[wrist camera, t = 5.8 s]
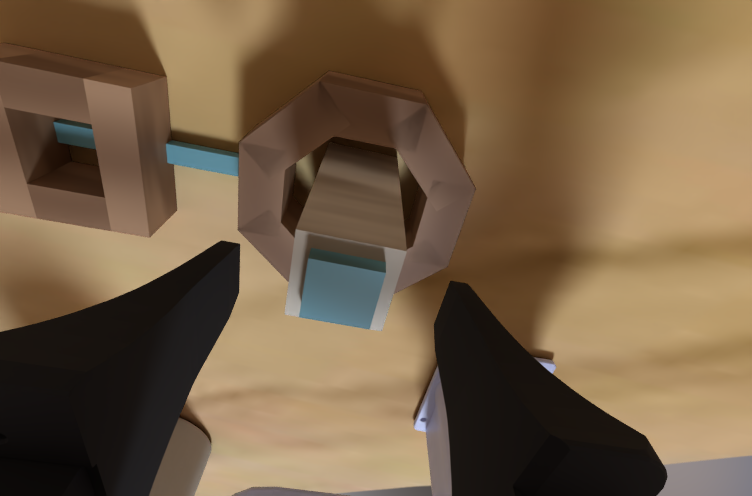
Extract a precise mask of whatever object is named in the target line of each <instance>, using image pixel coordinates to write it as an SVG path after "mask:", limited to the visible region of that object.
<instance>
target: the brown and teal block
mask: <svg viewBox="0 0 752 496" xmlns="http://www.w3.org/2000/svg"><path fill="white" fill-rule="evenodd" d="M406 253H407V247H406V237H405V227H404V218H403V208H402V199H401V189H400V180H399V170H398V160H397V157H394V156H389V155H385V154H380V153H376V152H371V151H367V150H362V149H358V148H353V147H349V146H344V145H340V144H335V143H331V142H329V145H328V147H327V150H326V153H325V155H324V158H323V160H322V163H321V165H320V168H319V171H318V173H317V176H316V178H315V181H314V183H313V186H312V189H311V191H310V194H309V196H308V199H307V202H306V204H305V207H304V209H303V212H302V214H301V217H300V220H299V222H298V225H297V227H296V231H295V239H294V246H293V254H292V262H291V269H290V277H289V284H288V292H287V300H286V307H285V315H291V316H297V317H301V318H307V319H313V320H318V321H324V322H330V323H335V324H341V325H347V326H353V327H358V328H364V329H372V330H377V331H382V329H383V326H384V323H385V319H386V316H387V313H388V310H389V307H390V304H391V300H392V297H393V294H394V291H395V288H396V285H397V281H398V278H399V275H400V272H401V269H402V266H403V262H404V259H405V256H406Z"/></svg>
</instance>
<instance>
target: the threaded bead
mask: <svg viewBox="0 0 752 496" xmlns="http://www.w3.org/2000/svg"><path fill="white" fill-rule="evenodd" d="M60 119H67V120H72V121H77V122H82V123H87V124H92V130H93V135H94V140H95V146H96V151H97V157H98V162H99V166H94V165H88V164H83V163H77V162H72V161H71V156H70V152H69V147H68V144H64V143H59V142H58V140H57V135H56V131H55V127H54V123H53V122H55V121H57V120H60ZM169 141H171V127H170V114H169V101H168V89H167V77H165V76H160V75H156V74H151V73H146V72H141V71H137V70H132V69H127V68H122V67H117V66H113V65H108V64H103V63H98V62H94V61H89V60H84V59H79V58H75V57H70V56H65V55H60V54H55V53H51V52H46V51H41V50H36V49H32V48H27V47H22V46H17V45H12V44H8V43H0V212H2V213H8V214H14V215H20V216H26V217H32V218H37V219H43V220H49V221H55V222H61V223H67V224H73V225H78V226H84V227H90V228H96V229H102V230H108V231H114V232H119V233H125V234H131V235H137V236H143V237H149V238H150V237H151V236H152V235H153V234H154V233H155V232H156V231H157V230H158V229H159V228H160V227H161V226H162V225H163V224H164V223H165V222H166V221H167V220H168V219H169V218H170V217H171V216H172V215H173V214H174V213H175V212H176V211H177V203H176V190H175V178H174V165H173V164H170V163H168V162H167V151H166V143H168V142H169Z"/></svg>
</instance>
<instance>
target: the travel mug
mask: <svg viewBox="0 0 752 496" xmlns="http://www.w3.org/2000/svg"><path fill="white" fill-rule="evenodd" d="M210 453H211V443H210V441H209V439H208V437H207V436H206V435H205V434H204V433H203V432H202V431H201V430H200V429H199V428H197V427H196V426H194V425H193V424H191V423H190V422H188V421H186V420H184V419H182V418H179V419H178V421H177V424H176V426H175V429H174V431H173V433H172V436H171V438H170V441H169V443H168V446H167V449H166V451H165V454H164V457H163V459H162V462H161V464H160V467H159V470H158V472H157V475H156V478H155V480H154V483H153V486H152V489H151V491H150V494H149V496H194V495H195V492H196V490H197V487H198V484H199V482H200V479H201V477H202V474H203V471H204V469H205V466H206V464H207V461H208V458H209V456H210Z"/></svg>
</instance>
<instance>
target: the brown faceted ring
mask: <svg viewBox="0 0 752 496" xmlns="http://www.w3.org/2000/svg"><path fill="white" fill-rule="evenodd" d="M333 136H336V137H341V138H346V139H351V140H356V141H361V142H366V143H371V144H375V145H380V146H385V147H390V148H395V149H397V151H398V152H399V154H400V155H401V157H402V158H403V160H404V162H405V163H406V165H407V166H408V168H409V169H410V171H411V172H412V174H413V176H414V177H415V179H416V180H417V182H418V183H419V186H418V189H417V193H416V197H415V200H414V204H413V207H412V211H411V214H410V218H409V219H407V220H405V221H404V227H405V237H406V247H407V253H406V256H405V259H404V262H403V266H402V269H401V272H400V275H399V278H398V281H397V285H396V288H395V291H394V294H395V293H397V292H399V291H401V290H403V289H405V288H406V287H408V286H410V285H412V284H414V283H416V282H418V281H420V280H422V279H424V278H426V277H428V276H430V275H432V274H434V273H436V272H438V271H440V270H442V269H444V268H446V267H448V264H449V261H450V258H451V256H452V253H453V250H454V247H455V245H456V242H457V239H458V236H459V234H460V231H461V228H462V225H463V223H464V220H465V217H466V214H467V212H468V209H469V206H470V203H471V201H472V198H473V195H474V192H475V190H476V188H475V186H474V184H473V182H472V180H471V178H470V176H469V174H468V172H467V170H466V169H465V167H464V165H463V164H462V162H461V160H460V159H459V157H458V155H457V153H456V152H455V150H454V148H453V146H452V145H451V143H450V141H449V139H448V138H447V136H446V134H445V132H444V130H443V129H442V127H441V125H440V123H439V122H438V120H437V118H436V116H435V115H434V113H433V111H432V109H431V108H430V106H429V104H428V102H427V100H426V99H425V97H424V95H423V92H422V91H419V90H414V89H410V88H405V87H401V86H396V85H392V84H387V83H382V82H378V81H373V80H369V79H364V78H360V77H355V76H351V75H346V74H341V73H337V72H332V71H328V72H327V73H326V74H324V75H323V76H322V77H320V78H319V79H318V80H316V81H315V82H314V83H312V84H311V85H310V86H308V87H307V88H306V89H304V90H303V91H302V92H300V93H299V94H298V95H297V96H295V97H294V98H293V99H291V100H290V101H289V102H287V103H286V104H285V105H283V106H282V107H281V108H279V109H278V110H277V111H275V112H274V113H273V114H271V115H270V116H269V117H267V118H266V119H265V120H263V121H262V122H261V123H259V124H257V125H256V126H255V127H254V128H253V129H252V130H251V131H250V132H249V133H248V134H247V135H246V136H245V137H244V138H243V139H242V140H240V141H239V185H238V231H239V232H240V233H241V234H242V235H243V236H244V237H245V238H246V239H247V240H248V241H249V242H250V243H251V244H252V245H253V246H254V247H255V248H256V249H257V250H258V251H259V252H260V253H261V254H262V255H263V256H264V257H265V258H266V259H267V260H268V261H269V263H270V264H271V265H272V266H273V267H274V268H275V269H276V270H277V271H278V272H279V273H280V274H281V275H282V276H283V277H284V278H285V279H286V280H287V281H288V282H289V277H290V269H291V262H292V254H293V246H294V239H295V231H296V227H297V225H298V222H299V220H300V217H301V214H302V212H303V208H302V207H301V205H300V204H299V203H298V202H297V201H296V199H295V198H294V197H293V190H294V180H295V169H296V162H297V161H299V160H300V159H302V158H303V157H304V156H306V155H307V154H309V153H310V152H312V151H313V150H315V149H316V148H317V147H319V146H320V145H322V144H323V143H325V142H326V141H328V140H329V139H331V138H332V137H333Z"/></svg>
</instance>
